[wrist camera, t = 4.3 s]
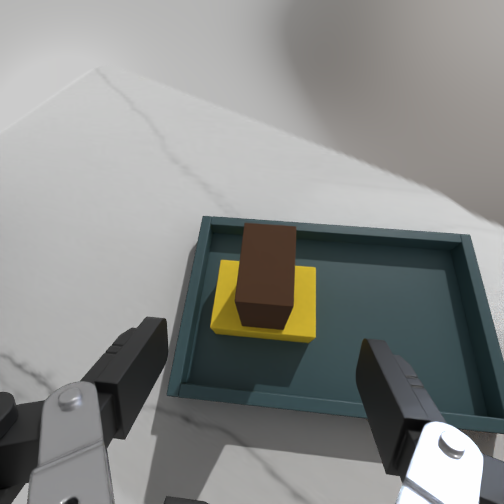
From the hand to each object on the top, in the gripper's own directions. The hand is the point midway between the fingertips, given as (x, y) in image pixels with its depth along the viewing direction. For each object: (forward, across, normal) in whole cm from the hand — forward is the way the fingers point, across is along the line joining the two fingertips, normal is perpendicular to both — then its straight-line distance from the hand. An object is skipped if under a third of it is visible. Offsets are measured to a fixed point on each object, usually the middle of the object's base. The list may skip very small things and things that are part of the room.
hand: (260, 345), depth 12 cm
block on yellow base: (+10, 0, +4) cm, 10 cm away
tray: (+10, -5, +4) cm, 12 cm away
